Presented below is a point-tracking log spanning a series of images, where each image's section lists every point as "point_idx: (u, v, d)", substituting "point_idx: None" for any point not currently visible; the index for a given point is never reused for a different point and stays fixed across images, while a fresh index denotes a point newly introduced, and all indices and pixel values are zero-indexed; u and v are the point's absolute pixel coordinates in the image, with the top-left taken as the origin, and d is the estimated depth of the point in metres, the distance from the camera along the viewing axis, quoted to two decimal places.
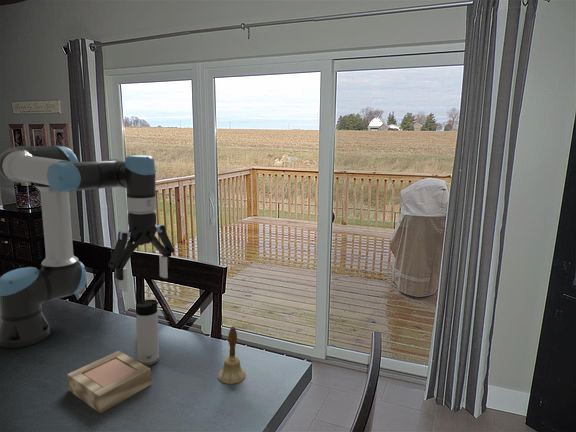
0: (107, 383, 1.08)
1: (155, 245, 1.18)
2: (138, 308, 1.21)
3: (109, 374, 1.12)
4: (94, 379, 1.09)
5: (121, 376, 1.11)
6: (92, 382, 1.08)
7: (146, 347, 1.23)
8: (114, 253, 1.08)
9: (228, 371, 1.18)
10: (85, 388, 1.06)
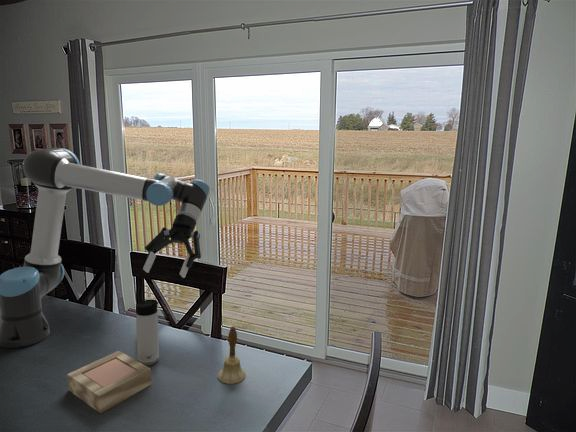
0: (107, 383, 1.08)
1: (164, 244, 1.38)
2: (138, 308, 1.21)
3: (109, 374, 1.12)
4: (94, 379, 1.09)
5: (121, 376, 1.11)
6: (92, 382, 1.08)
7: (146, 347, 1.23)
8: (198, 246, 1.34)
9: (228, 371, 1.18)
10: (85, 388, 1.06)
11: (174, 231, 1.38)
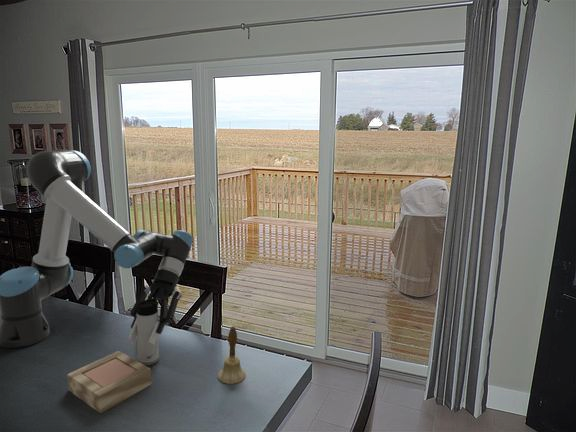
0: (107, 383, 1.08)
1: None
2: (139, 308, 1.21)
3: (109, 374, 1.12)
4: (94, 379, 1.09)
5: (121, 376, 1.11)
6: (92, 382, 1.08)
7: (146, 347, 1.23)
8: (173, 310, 1.26)
9: (228, 371, 1.19)
10: (85, 388, 1.06)
11: (155, 288, 1.30)
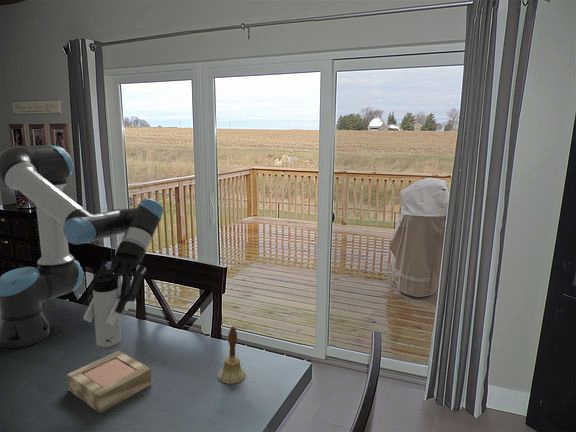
0: (107, 383, 1.08)
1: None
2: (94, 283, 1.05)
3: (109, 374, 1.12)
4: (94, 379, 1.09)
5: (121, 376, 1.11)
6: (92, 382, 1.08)
7: (104, 329, 1.07)
8: (136, 286, 1.10)
9: (228, 371, 1.18)
10: (85, 388, 1.06)
11: (117, 262, 1.14)
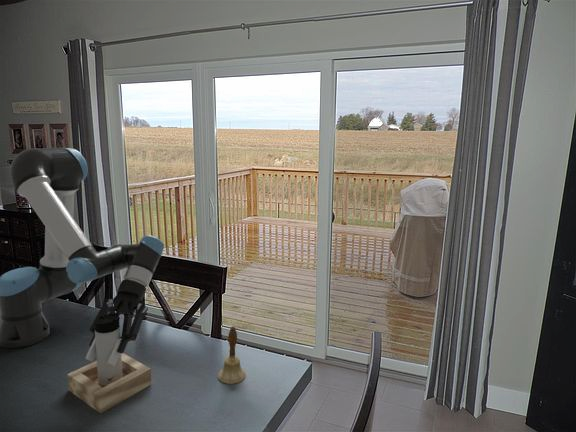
0: None
1: None
2: (96, 324, 1.07)
3: None
4: None
5: None
6: (92, 382, 1.08)
7: (106, 368, 1.09)
8: (137, 325, 1.12)
9: (228, 371, 1.18)
10: (85, 388, 1.06)
11: (118, 301, 1.16)
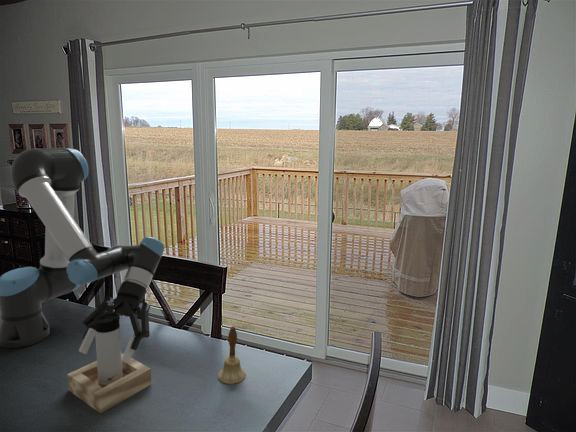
0: None
1: None
2: (96, 324, 1.07)
3: None
4: None
5: None
6: (92, 382, 1.08)
7: (106, 368, 1.09)
8: (146, 322, 1.13)
9: (228, 371, 1.18)
10: (85, 388, 1.06)
11: (119, 302, 1.16)
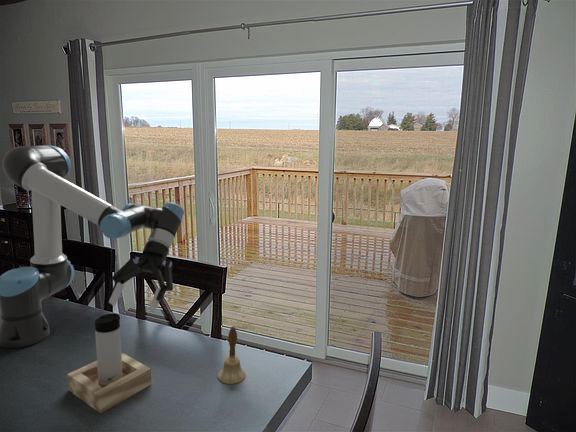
0: None
1: (133, 273, 1.27)
2: (97, 324, 1.07)
3: None
4: None
5: None
6: (92, 382, 1.08)
7: (106, 368, 1.09)
8: (170, 277, 1.23)
9: (228, 371, 1.18)
10: (85, 388, 1.06)
11: (144, 260, 1.26)
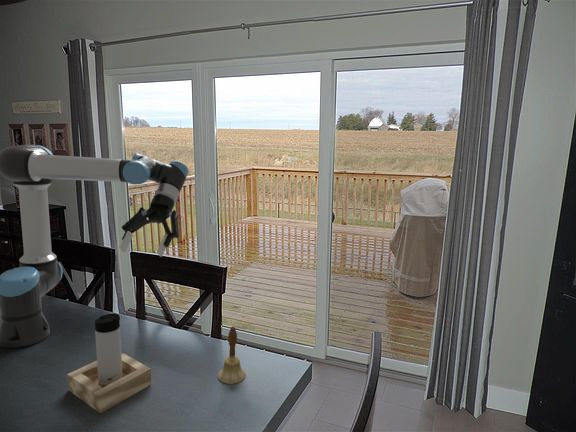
0: None
1: (142, 224, 1.37)
2: (97, 324, 1.07)
3: None
4: None
5: None
6: (92, 382, 1.08)
7: (106, 368, 1.09)
8: (176, 225, 1.33)
9: (228, 371, 1.18)
10: (85, 388, 1.06)
11: (152, 211, 1.37)
